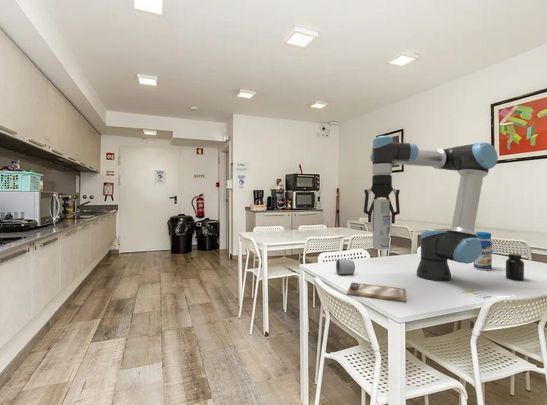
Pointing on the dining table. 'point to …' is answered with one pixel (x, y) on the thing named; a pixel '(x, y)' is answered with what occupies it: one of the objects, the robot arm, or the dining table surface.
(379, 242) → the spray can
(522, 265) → the supplement bottle
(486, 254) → the beverage bottle
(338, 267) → the grey cylinder
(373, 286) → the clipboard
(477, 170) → the robot arm
